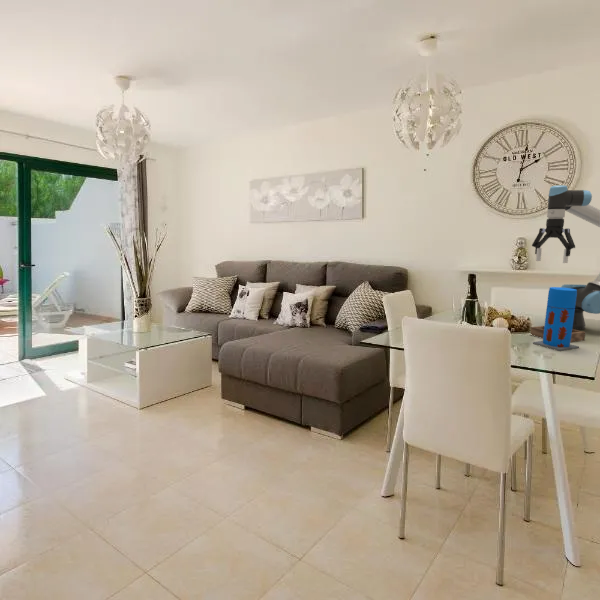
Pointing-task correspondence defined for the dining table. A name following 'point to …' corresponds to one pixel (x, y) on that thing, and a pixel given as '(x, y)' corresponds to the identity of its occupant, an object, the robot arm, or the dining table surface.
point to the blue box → (559, 316)
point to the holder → (575, 335)
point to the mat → (556, 347)
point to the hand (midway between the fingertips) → (551, 262)
